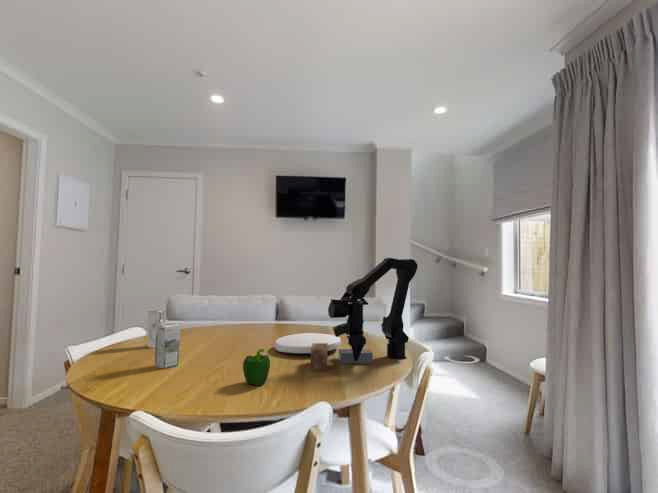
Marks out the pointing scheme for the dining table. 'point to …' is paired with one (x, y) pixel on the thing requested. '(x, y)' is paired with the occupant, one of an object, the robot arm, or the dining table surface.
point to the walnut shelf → (319, 356)
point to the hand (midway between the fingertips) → (355, 358)
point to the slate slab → (348, 357)
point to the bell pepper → (256, 368)
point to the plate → (305, 342)
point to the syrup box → (167, 345)
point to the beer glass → (154, 325)
